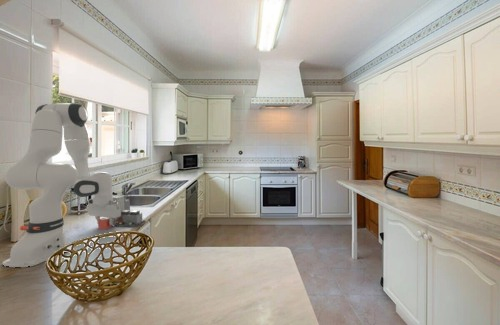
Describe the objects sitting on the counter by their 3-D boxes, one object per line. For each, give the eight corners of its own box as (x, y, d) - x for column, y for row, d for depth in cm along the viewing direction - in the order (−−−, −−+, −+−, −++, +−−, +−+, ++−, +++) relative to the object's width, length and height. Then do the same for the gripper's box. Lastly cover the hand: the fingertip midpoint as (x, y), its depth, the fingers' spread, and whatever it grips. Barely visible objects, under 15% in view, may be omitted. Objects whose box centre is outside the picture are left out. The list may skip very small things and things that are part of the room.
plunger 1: (126, 222, 149) (126, 211, 149) (120, 221, 150) (119, 211, 149) (130, 220, 153) (130, 210, 153) (124, 219, 154) (123, 209, 153)
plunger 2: (136, 222, 149) (135, 212, 148) (129, 222, 149) (129, 211, 149) (139, 220, 153) (139, 210, 152) (133, 220, 153) (133, 210, 153)
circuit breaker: (131, 215, 167) (130, 193, 166) (118, 222, 153) (117, 198, 152) (120, 215, 168) (120, 193, 167) (106, 222, 154) (105, 197, 153)
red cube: (106, 229, 142) (106, 219, 141) (98, 228, 142) (97, 219, 142) (112, 226, 147) (112, 217, 146) (104, 225, 147) (103, 217, 147)
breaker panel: (134, 227, 145) (133, 216, 144) (114, 226, 146) (113, 216, 146) (145, 220, 157) (144, 211, 156) (126, 220, 158) (126, 210, 157)
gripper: (123, 200, 143) (124, 224, 144) (95, 197, 149) (96, 220, 150) (114, 202, 137) (115, 227, 138) (85, 200, 143) (86, 224, 144)
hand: (105, 224), depth 145 cm, fingers open, 6 cm apart
